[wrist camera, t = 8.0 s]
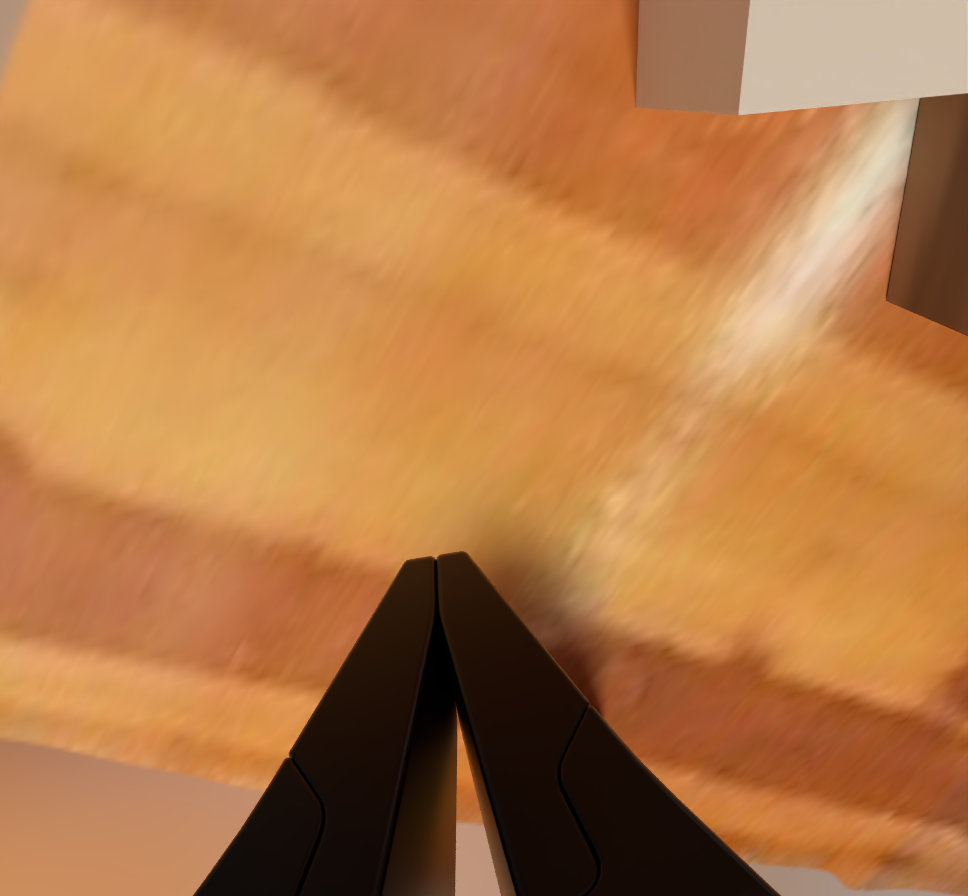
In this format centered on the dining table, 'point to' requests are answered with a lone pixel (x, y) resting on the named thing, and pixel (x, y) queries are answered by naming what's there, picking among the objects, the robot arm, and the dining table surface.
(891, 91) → the plain white cube
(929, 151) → the stop board
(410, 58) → the dining table surface
